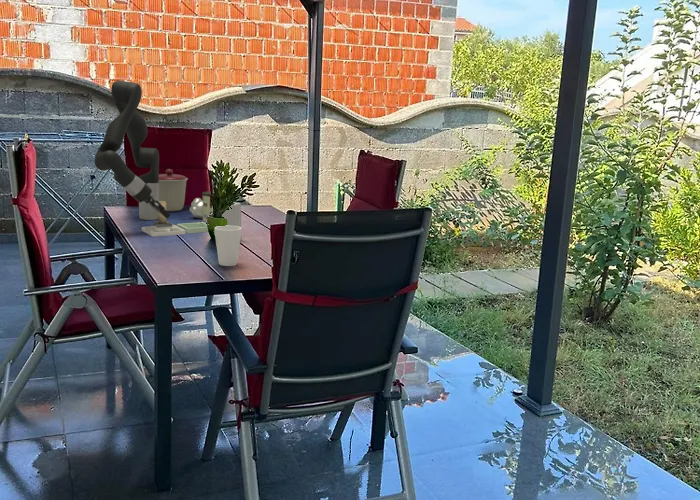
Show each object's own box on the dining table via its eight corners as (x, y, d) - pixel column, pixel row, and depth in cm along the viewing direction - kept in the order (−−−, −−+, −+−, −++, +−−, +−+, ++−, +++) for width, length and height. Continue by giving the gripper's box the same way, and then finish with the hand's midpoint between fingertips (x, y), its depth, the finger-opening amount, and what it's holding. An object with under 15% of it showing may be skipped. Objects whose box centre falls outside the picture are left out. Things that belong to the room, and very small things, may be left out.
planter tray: (176, 230, 288) (176, 223, 287) (203, 228, 294) (202, 222, 294) (186, 235, 278) (186, 228, 277) (213, 233, 285) (213, 226, 284)
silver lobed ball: (192, 216, 324) (192, 196, 321) (211, 217, 323) (211, 197, 321) (187, 219, 315) (187, 198, 313) (207, 220, 314) (207, 199, 312)
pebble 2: (169, 233, 277) (168, 226, 276) (175, 232, 279) (175, 225, 278) (171, 234, 274) (171, 227, 274) (178, 233, 276) (178, 226, 275)
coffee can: (228, 221, 314) (228, 192, 311) (219, 225, 305) (219, 194, 302) (207, 219, 316) (207, 190, 313) (198, 223, 307) (198, 193, 303)
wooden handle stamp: (153, 224, 279) (152, 201, 277) (167, 223, 283) (166, 200, 280) (157, 227, 274) (157, 203, 272) (171, 226, 278) (171, 202, 275)
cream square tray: (141, 232, 280) (141, 227, 279) (173, 230, 288) (173, 224, 287) (152, 238, 269) (152, 233, 268) (185, 236, 277) (185, 230, 276)
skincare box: (242, 239, 275) (242, 202, 271) (234, 242, 268) (234, 204, 265) (224, 237, 277) (224, 201, 274) (216, 240, 271) (216, 203, 268)
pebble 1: (153, 234, 273) (153, 227, 273) (160, 233, 275) (160, 226, 274) (156, 235, 271) (155, 228, 270) (163, 234, 273) (163, 227, 272)
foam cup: (216, 260, 238) (216, 225, 235) (242, 261, 239) (242, 225, 236) (213, 266, 229) (213, 230, 226) (240, 267, 230) (240, 230, 227)
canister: (160, 206, 349) (159, 166, 344) (193, 208, 346) (192, 168, 342) (145, 211, 331) (144, 169, 326) (179, 214, 329) (179, 171, 324)
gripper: (149, 184, 264) (178, 212, 274) (138, 179, 276) (167, 206, 285) (136, 197, 263) (166, 225, 272) (126, 192, 274) (155, 219, 284)
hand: (166, 215), depth 279 cm, fingers closed on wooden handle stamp, 3 cm apart
